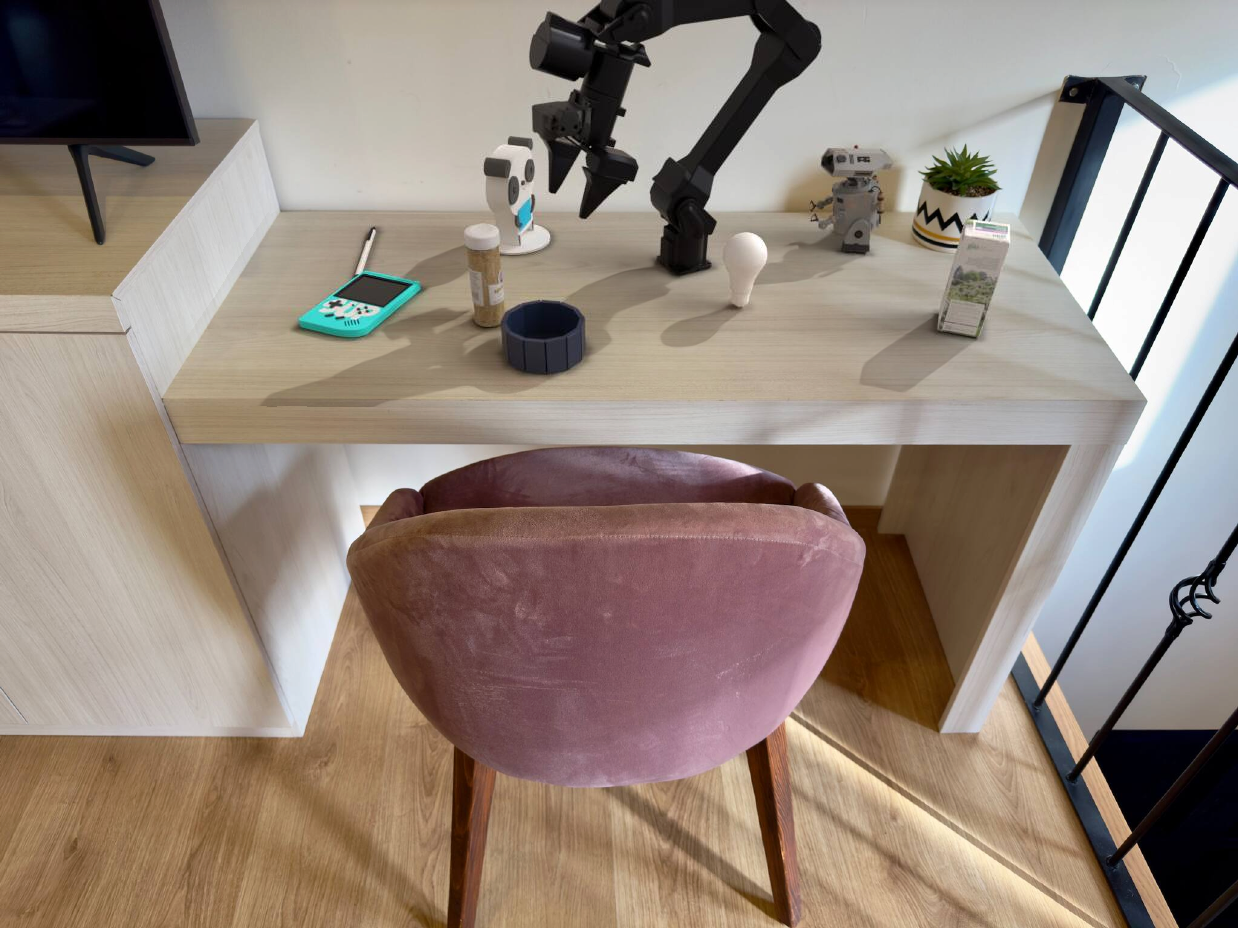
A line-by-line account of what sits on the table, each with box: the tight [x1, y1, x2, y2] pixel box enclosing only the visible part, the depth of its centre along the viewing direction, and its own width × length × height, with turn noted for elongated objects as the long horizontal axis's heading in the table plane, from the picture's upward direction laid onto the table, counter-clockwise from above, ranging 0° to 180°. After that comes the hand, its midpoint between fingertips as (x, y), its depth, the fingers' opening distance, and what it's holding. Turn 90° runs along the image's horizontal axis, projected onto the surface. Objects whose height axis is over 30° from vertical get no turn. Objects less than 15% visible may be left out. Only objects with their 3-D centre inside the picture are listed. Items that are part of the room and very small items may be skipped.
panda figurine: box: [483, 135, 551, 256], centre depth 135 cm, size 12×11×15 cm
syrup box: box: [936, 218, 1011, 338], centre depth 115 cm, size 6×6×14 cm
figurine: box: [809, 144, 894, 255], centre depth 136 cm, size 9×12×15 cm
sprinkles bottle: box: [463, 223, 506, 328], centre depth 115 cm, size 5×5×14 cm
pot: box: [500, 299, 586, 375], centre depth 112 cm, size 11×11×5 cm
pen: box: [354, 226, 377, 278], centre depth 135 cm, size 1×19×1 cm, turn 4°
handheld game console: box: [297, 270, 422, 338], centre depth 122 cm, size 10×16×1 cm, turn 158°
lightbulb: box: [722, 231, 768, 308], centre depth 120 cm, size 6×6×11 cm
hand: (566, 205), depth 120 cm, fingers open, 9 cm apart
